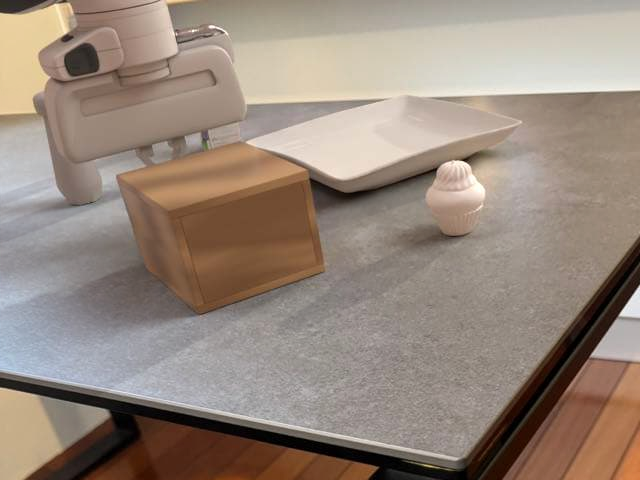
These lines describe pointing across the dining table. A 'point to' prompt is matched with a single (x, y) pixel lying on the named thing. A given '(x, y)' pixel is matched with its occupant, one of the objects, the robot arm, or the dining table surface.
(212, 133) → the syrup box
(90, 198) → the salt shaker
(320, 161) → the square plate
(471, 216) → the muffin
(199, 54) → the robot arm
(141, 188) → the cabinet
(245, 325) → the dining table surface
